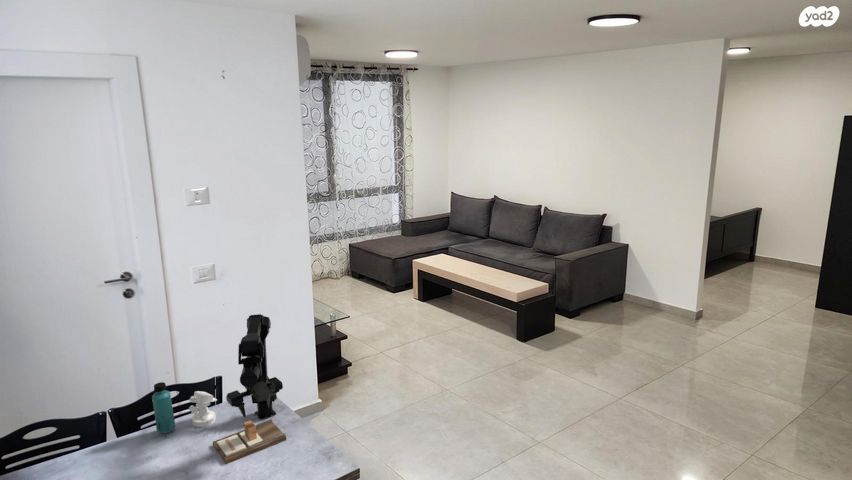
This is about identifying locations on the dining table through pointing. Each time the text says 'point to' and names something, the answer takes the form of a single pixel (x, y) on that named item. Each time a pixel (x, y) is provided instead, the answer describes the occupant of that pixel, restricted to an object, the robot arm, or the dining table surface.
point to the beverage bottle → (163, 408)
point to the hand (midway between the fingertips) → (257, 412)
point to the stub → (250, 434)
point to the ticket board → (238, 448)
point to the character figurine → (202, 409)
